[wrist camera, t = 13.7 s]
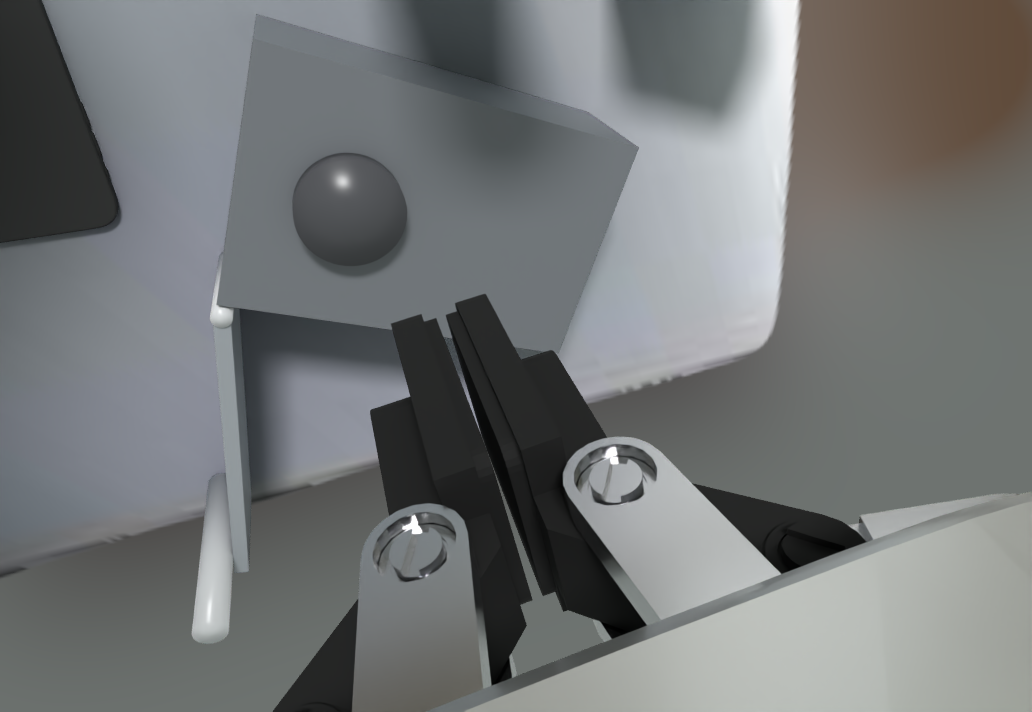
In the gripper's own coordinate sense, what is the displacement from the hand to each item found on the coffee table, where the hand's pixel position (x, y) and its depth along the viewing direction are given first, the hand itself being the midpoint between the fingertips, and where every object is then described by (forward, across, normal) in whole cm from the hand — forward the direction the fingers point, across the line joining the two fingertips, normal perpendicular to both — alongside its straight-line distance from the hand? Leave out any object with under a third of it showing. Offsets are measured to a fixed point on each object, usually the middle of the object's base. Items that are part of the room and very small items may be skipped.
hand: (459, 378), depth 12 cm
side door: (+29, +13, +16) cm, 35 cm away
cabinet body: (+29, -2, +7) cm, 30 cm away
